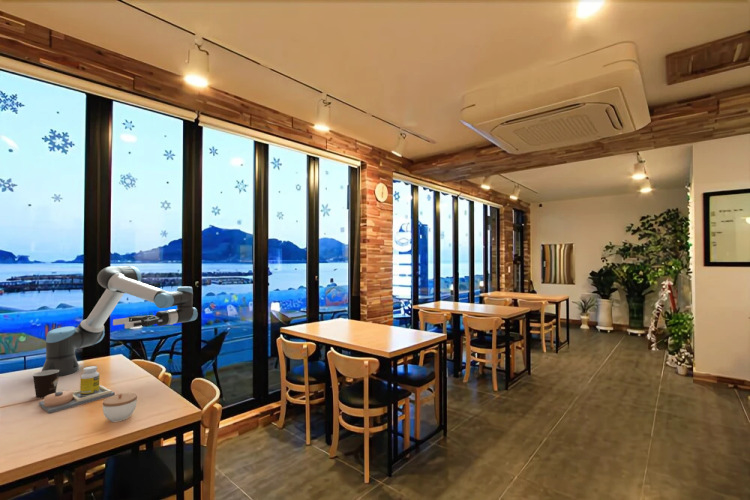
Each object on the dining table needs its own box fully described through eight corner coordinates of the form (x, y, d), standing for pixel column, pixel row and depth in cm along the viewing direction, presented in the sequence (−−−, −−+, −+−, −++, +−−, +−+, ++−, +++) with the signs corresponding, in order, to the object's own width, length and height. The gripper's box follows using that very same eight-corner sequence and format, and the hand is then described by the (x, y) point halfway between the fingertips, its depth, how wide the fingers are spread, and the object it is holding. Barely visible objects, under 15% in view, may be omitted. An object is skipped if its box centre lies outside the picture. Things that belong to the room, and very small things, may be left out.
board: (39, 404, 146) (39, 392, 146) (102, 388, 164) (102, 377, 164) (49, 413, 138) (49, 400, 138) (114, 395, 156) (114, 383, 156)
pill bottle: (90, 397, 151) (91, 370, 152) (76, 396, 151) (76, 369, 152) (102, 391, 158) (103, 365, 158) (88, 391, 158) (89, 365, 158)
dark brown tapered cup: (42, 399, 151) (43, 376, 151) (27, 398, 153) (27, 375, 153) (70, 389, 163) (71, 368, 163) (56, 388, 164) (56, 367, 165)
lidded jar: (131, 409, 142) (131, 386, 142) (140, 417, 135) (141, 393, 135) (98, 419, 133) (99, 394, 133) (106, 428, 126) (107, 401, 127)
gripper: (178, 327, 177) (130, 335, 159) (154, 322, 191) (108, 328, 174) (178, 312, 177) (130, 318, 160) (155, 308, 191) (108, 313, 174)
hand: (118, 324), depth 167 cm, fingers open, 13 cm apart
